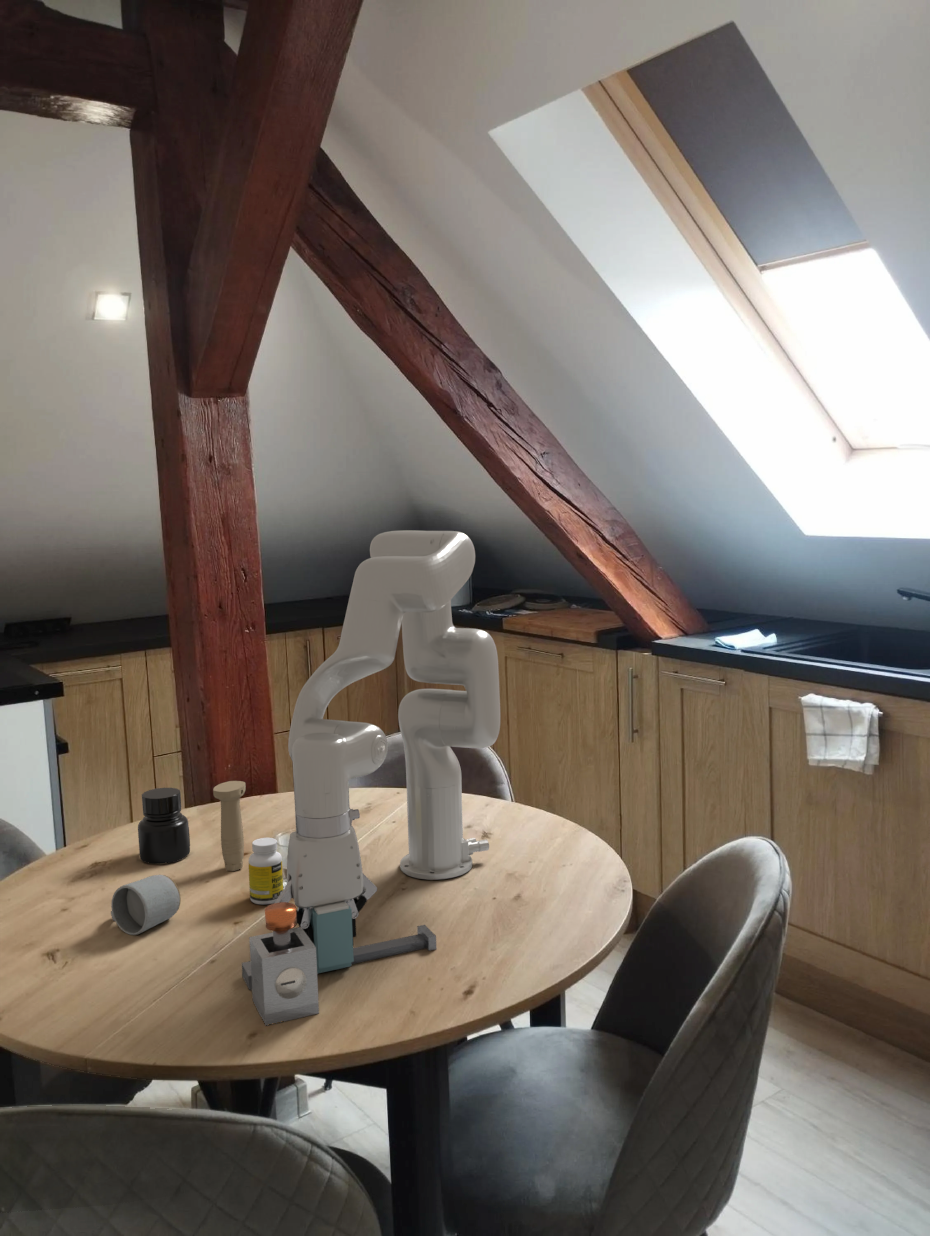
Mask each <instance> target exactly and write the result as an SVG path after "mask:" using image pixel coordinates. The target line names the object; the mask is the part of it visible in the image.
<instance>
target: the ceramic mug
mask: <svg viewBox="0 0 930 1236" xmlns="http://www.w3.org/2000/svg"><path fill="white" fill-rule="evenodd" d="M180 893H181V892H180V889H179V887H178V885H177V883H176V882H175V880H173V879H172V878H171V877H170V876H168V875H166V874H154V875H151V876H147V877H144V878H142V879H139V880H136V881H132V882H129V883H127V884H123V885H121V886H120V887H118V888H117V889H116V890H115V891H114V893H113V895H112V898H111V903H110V904H111V906H110V907H111V911H110V916H111V919H112V921H113V922H115V923H116V925H117V926H118V927H119V929H120V930H121V931H122V932H124V933H125V934H127V935H131V936H137V935H140V934H142V933H144V932H145V931H148V930H149V929H152V928H154V927H155V926H157V925H159V924H161V923H163V922H166V921H168V920H169V919H171V918H172V917H174V916H175V914H176V913H178V911H179V910H180V906H181V894H180Z"/></svg>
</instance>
